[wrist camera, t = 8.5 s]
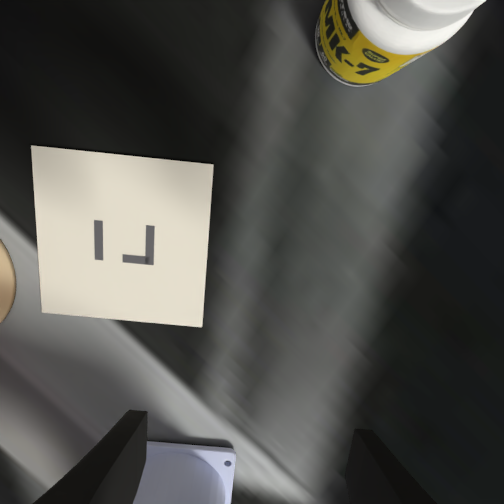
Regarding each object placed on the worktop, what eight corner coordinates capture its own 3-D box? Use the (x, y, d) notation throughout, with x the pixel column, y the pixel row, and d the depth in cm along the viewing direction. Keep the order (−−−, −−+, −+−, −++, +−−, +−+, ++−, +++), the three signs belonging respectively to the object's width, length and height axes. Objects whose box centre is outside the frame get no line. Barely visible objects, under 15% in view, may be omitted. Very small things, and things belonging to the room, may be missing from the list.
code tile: (202, 326, 21) (202, 327, 21) (42, 312, 21) (41, 312, 21) (213, 164, 19) (213, 164, 19) (32, 145, 18) (30, 145, 18)
